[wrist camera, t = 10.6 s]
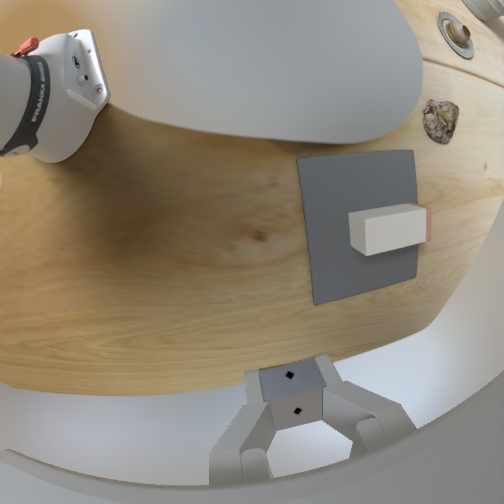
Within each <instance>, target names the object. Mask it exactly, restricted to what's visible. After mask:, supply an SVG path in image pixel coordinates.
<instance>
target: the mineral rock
mask: <svg viewBox="0 0 504 504" xmlns="http://www.w3.org/2000/svg"><path fill="white" fill-rule="evenodd" d="M423 113H424V116H425V117H424V122H423V123H424V125H425V129H426V130H427V132H428V134H430V137H431V138H432V139H433V140H436V141H438V142H442V143H446V142H449V139H450V138H451V137H452V135H453V131H454V130H455V125H456V121H457V117H458V115H459V109H458V106H457V105H455V104H453V103H452V102H448V101H446V102H435V101H434V100H431V99H430V101H429V102H428V103H427V104H426V106H425V108H424V109H423Z"/></svg>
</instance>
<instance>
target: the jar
mask: <svg viewBox="0 0 504 504" xmlns="http://www.w3.org/2000/svg"><path fill="white" fill-rule="evenodd" d="M462 1H463V2H464V3H465V5H466V6H467V7H468V8H469V10H470V11H471V12H472V13H473V14H474V15H475V16H476V17H477V18H479V19H480V20H482V21H489V20H491V19H494V18H497V17H500V16H504V0H462Z"/></svg>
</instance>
